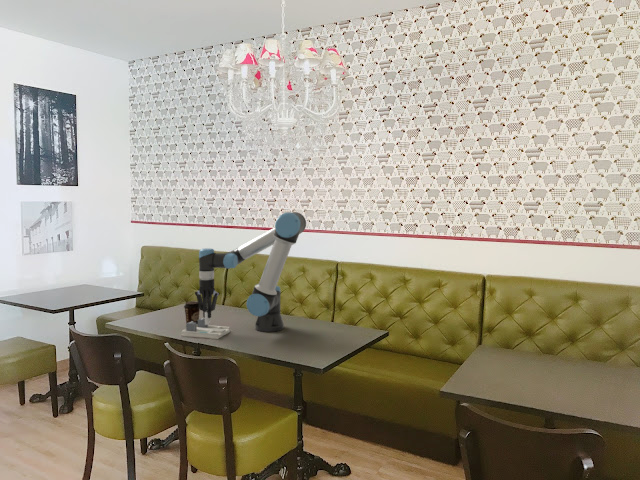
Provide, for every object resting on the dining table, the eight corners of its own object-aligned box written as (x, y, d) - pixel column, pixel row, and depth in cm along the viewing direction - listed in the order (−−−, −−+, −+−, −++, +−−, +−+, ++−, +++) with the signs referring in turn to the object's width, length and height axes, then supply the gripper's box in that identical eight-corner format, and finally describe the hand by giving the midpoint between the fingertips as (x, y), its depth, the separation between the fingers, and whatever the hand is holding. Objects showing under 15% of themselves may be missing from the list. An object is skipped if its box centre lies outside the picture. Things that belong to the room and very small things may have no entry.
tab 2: (207, 327, 258) (207, 318, 258) (204, 329, 256) (204, 319, 255) (200, 327, 259) (200, 317, 259) (197, 328, 257) (197, 318, 256)
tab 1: (196, 331, 251) (196, 321, 251) (193, 332, 248) (193, 322, 248) (189, 330, 252) (189, 320, 252) (186, 332, 249) (186, 322, 249)
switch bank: (230, 331, 257) (230, 326, 256) (217, 339, 243) (217, 333, 243) (195, 328, 262) (195, 323, 262) (181, 335, 249) (181, 330, 248)
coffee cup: (203, 324, 271) (202, 301, 270) (197, 328, 262) (197, 304, 261) (187, 324, 272) (187, 300, 270) (181, 328, 263) (181, 303, 262)
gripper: (221, 278, 256) (222, 323, 258) (199, 277, 260) (199, 321, 262) (214, 280, 249) (215, 326, 251) (191, 279, 253) (192, 324, 255)
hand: (207, 323), depth 257 cm, fingers closed
